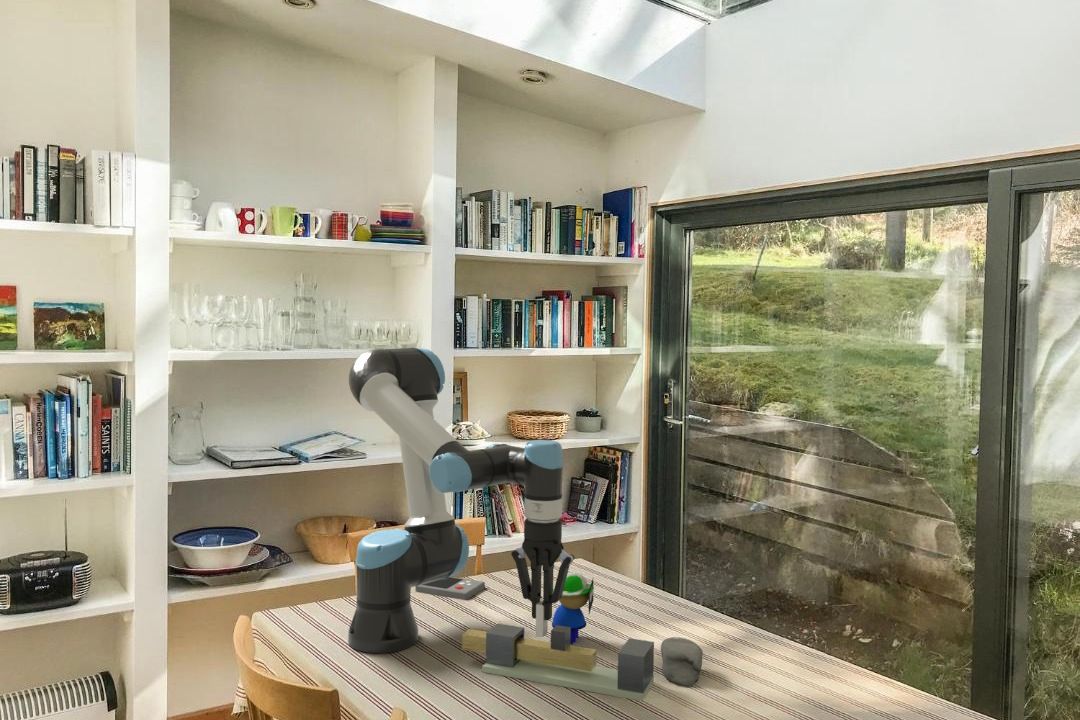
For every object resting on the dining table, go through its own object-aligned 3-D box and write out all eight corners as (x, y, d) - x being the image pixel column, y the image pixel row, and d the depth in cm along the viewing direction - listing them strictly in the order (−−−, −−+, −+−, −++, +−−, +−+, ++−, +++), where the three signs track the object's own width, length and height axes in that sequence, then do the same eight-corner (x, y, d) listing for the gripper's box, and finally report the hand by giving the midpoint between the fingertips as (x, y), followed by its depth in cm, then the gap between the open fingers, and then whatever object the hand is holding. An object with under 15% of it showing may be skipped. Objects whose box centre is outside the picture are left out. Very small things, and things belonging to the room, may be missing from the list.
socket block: (617, 689, 162) (618, 652, 161) (628, 672, 169) (629, 638, 169) (643, 693, 160) (643, 657, 159) (653, 676, 167) (654, 641, 167)
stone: (652, 682, 168) (658, 630, 171) (659, 686, 175) (665, 636, 179) (698, 689, 165) (703, 636, 169) (703, 693, 172) (708, 642, 176)
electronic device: (466, 592, 214) (414, 584, 220) (466, 602, 214) (414, 593, 220) (485, 580, 224) (435, 573, 230) (485, 590, 224) (435, 582, 230)
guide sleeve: (485, 663, 173) (486, 633, 172) (497, 652, 178) (497, 623, 178) (512, 667, 171) (513, 637, 170) (524, 657, 176) (524, 627, 176)
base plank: (482, 671, 171) (482, 666, 171) (500, 655, 180) (500, 649, 180) (642, 700, 159) (642, 694, 159) (653, 681, 168) (653, 675, 168)
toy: (590, 648, 184) (591, 580, 183) (548, 644, 186) (549, 577, 185) (595, 633, 193) (596, 568, 192) (555, 630, 195) (556, 565, 194)
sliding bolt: (462, 649, 176) (462, 616, 176) (468, 643, 179) (469, 611, 179) (591, 671, 166) (591, 636, 166) (596, 665, 169) (596, 631, 169)
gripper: (505, 519, 169) (504, 636, 170) (567, 525, 164) (565, 646, 165) (520, 511, 176) (519, 623, 177) (580, 517, 171) (578, 633, 172)
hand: (541, 634), depth 171 cm, fingers closed
